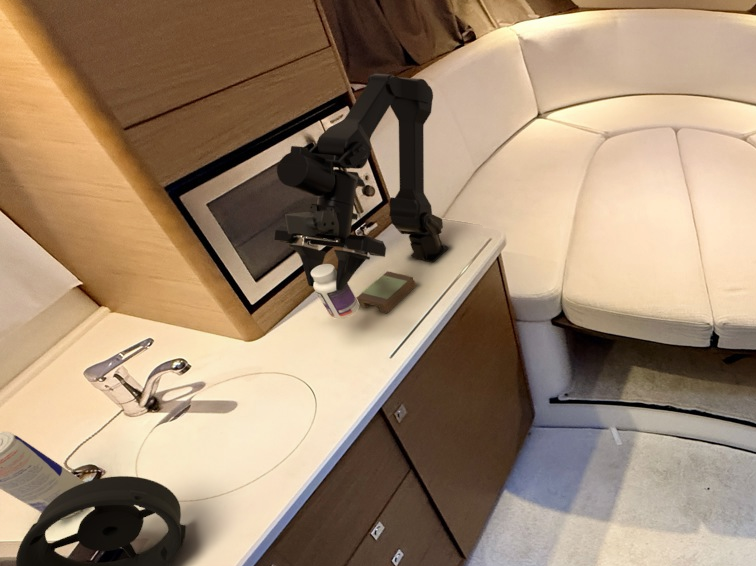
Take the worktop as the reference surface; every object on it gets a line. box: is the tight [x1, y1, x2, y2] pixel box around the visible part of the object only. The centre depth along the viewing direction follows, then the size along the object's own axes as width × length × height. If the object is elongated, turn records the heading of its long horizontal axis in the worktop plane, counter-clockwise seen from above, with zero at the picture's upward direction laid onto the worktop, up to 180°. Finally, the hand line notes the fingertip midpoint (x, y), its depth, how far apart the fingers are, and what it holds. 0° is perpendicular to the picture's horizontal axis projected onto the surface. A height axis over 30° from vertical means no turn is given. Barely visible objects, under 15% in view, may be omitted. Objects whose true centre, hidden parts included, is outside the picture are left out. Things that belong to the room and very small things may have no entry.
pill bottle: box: [311, 263, 360, 320], centre depth 96 cm, size 5×5×10 cm
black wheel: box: [15, 475, 187, 566], centre depth 68 cm, size 14×14×10 cm
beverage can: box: [0, 430, 86, 519], centre depth 73 cm, size 6×6×15 cm
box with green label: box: [355, 270, 417, 314], centre depth 112 cm, size 10×7×3 cm
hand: (325, 288), depth 94 cm, fingers closed on pill bottle, 5 cm apart
